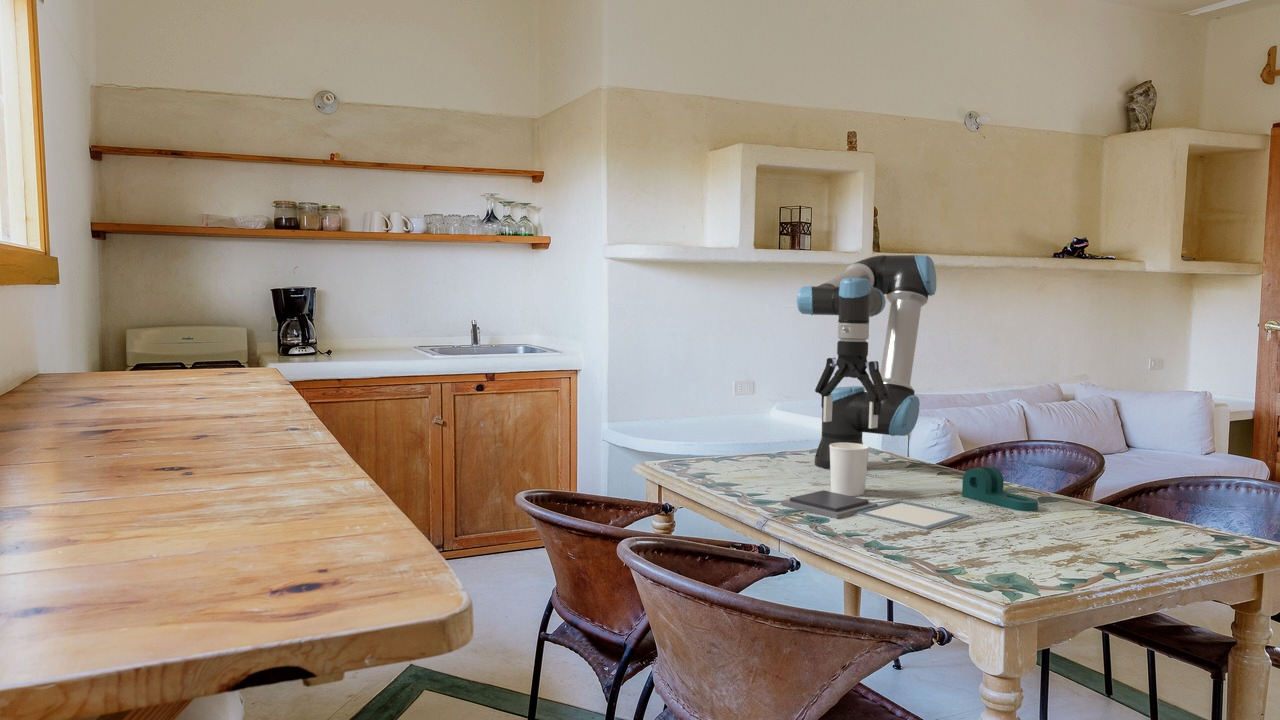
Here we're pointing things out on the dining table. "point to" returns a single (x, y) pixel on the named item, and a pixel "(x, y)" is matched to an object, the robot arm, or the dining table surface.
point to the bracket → (993, 490)
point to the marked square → (913, 515)
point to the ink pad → (828, 504)
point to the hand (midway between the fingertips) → (849, 424)
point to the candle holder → (848, 468)
